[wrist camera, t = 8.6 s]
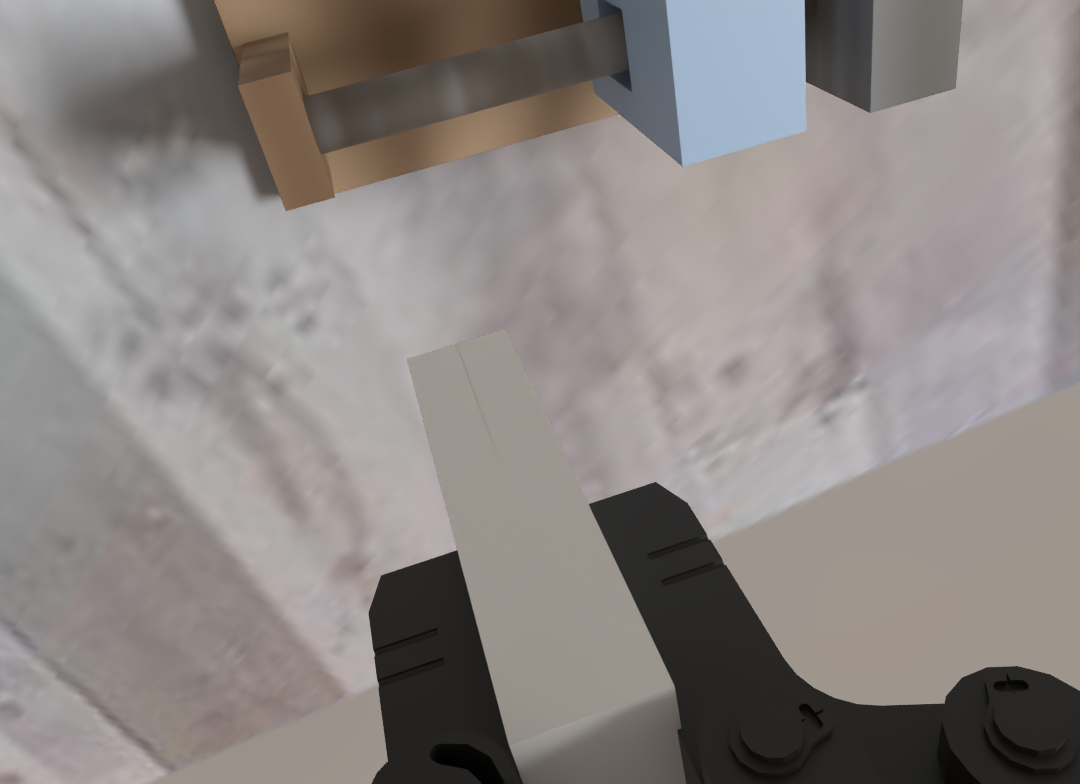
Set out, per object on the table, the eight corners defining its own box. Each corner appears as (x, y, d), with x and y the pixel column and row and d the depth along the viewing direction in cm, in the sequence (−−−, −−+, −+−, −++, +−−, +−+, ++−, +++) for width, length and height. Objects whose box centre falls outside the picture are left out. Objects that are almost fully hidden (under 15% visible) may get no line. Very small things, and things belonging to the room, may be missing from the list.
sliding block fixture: (291, 194, 35) (297, 310, 27) (210, -20, 30) (187, 39, 22) (801, 52, 37) (952, 118, 29) (796, -168, 33) (976, -165, 24)
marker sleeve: (594, 92, 33) (682, 166, 26) (572, -51, 30) (664, -13, 23) (692, 65, 34) (806, 130, 27) (680, -79, 31) (803, -49, 24)
